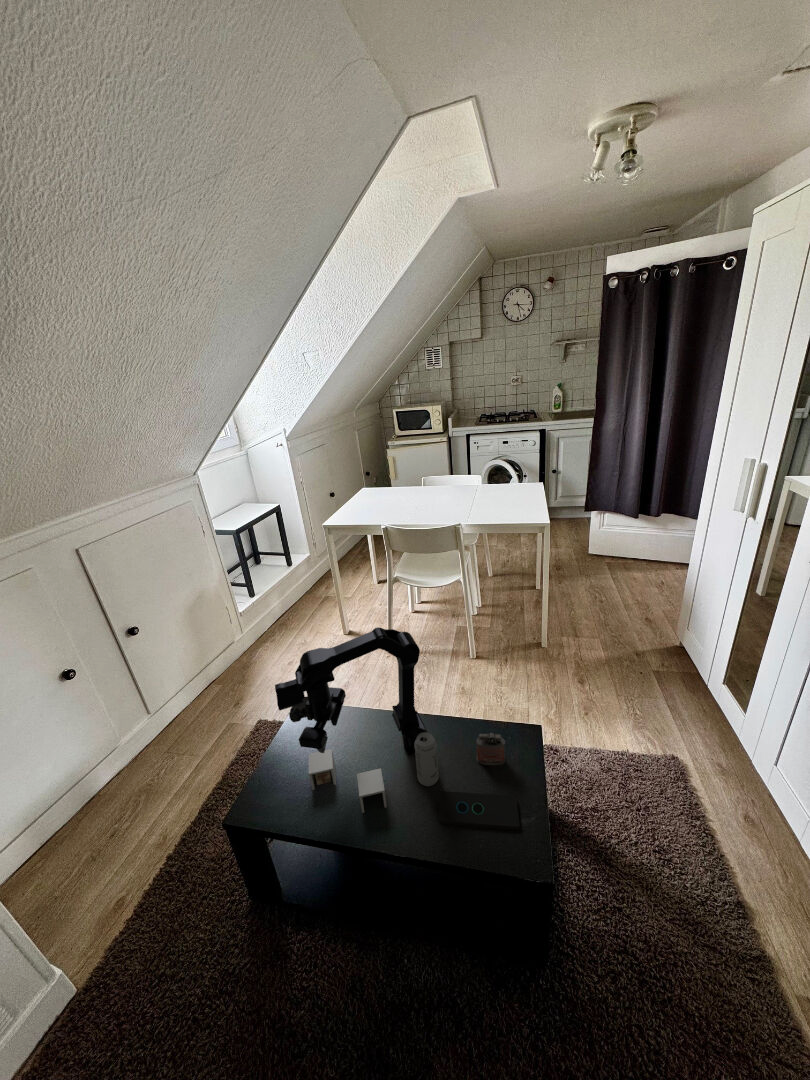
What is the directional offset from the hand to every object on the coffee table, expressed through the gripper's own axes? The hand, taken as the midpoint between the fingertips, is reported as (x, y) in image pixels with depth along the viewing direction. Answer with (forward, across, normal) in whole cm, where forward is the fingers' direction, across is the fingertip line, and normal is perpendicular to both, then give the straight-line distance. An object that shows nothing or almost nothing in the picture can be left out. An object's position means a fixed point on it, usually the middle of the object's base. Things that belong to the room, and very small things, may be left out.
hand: (328, 738), depth 117 cm
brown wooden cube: (+14, +2, -3) cm, 14 cm away
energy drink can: (+14, -2, +27) cm, 30 cm away
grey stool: (+14, +6, +13) cm, 20 cm away
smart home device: (+15, +5, +41) cm, 44 cm away
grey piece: (+14, +2, -3) cm, 14 cm away
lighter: (+15, -11, +44) cm, 47 cm away
